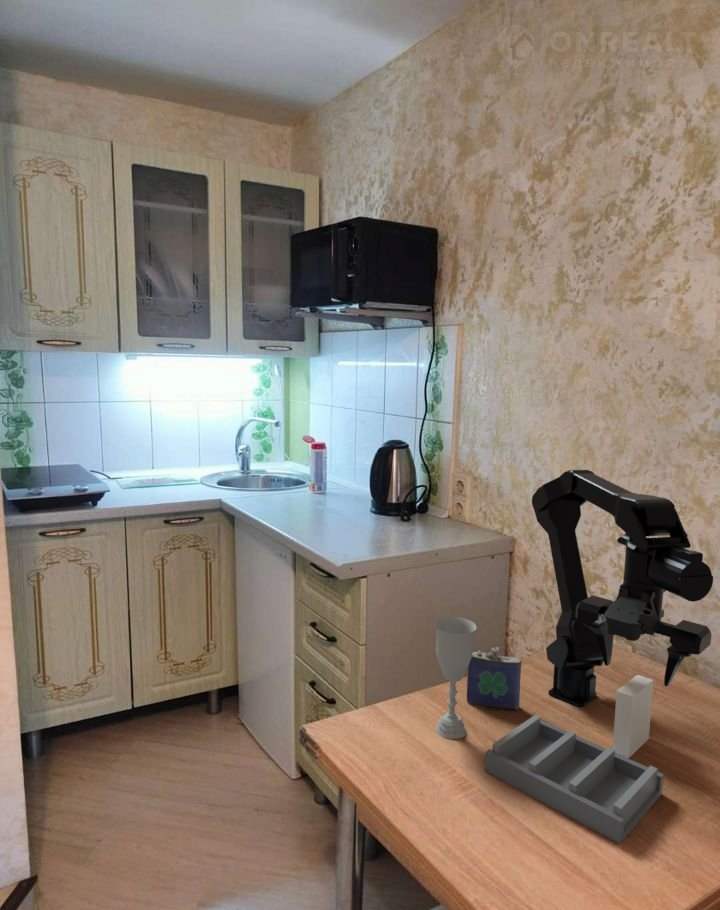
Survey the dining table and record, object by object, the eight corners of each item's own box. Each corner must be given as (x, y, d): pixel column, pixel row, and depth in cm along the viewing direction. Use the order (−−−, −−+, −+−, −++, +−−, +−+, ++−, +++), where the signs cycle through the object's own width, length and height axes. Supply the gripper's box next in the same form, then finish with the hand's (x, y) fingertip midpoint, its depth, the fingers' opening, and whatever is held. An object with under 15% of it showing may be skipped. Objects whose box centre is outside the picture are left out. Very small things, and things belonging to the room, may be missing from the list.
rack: (484, 770, 91) (485, 745, 91) (534, 734, 101) (535, 711, 101) (619, 844, 77) (621, 814, 77) (662, 794, 87) (664, 767, 87)
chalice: (426, 718, 105) (429, 616, 103) (465, 717, 106) (469, 616, 104) (435, 743, 98) (439, 634, 96) (477, 742, 99) (482, 633, 97)
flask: (519, 705, 110) (522, 647, 109) (518, 713, 108) (521, 654, 106) (467, 697, 113) (469, 640, 112) (465, 705, 110) (467, 647, 109)
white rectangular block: (612, 751, 97) (616, 690, 96) (633, 732, 103) (637, 674, 101) (628, 758, 95) (633, 696, 94) (648, 738, 101) (653, 679, 100)
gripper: (562, 575, 97) (556, 670, 99) (691, 608, 84) (681, 717, 85) (594, 561, 105) (588, 650, 106) (716, 589, 91) (707, 690, 93)
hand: (636, 674), depth 98 cm, fingers open, 9 cm apart
